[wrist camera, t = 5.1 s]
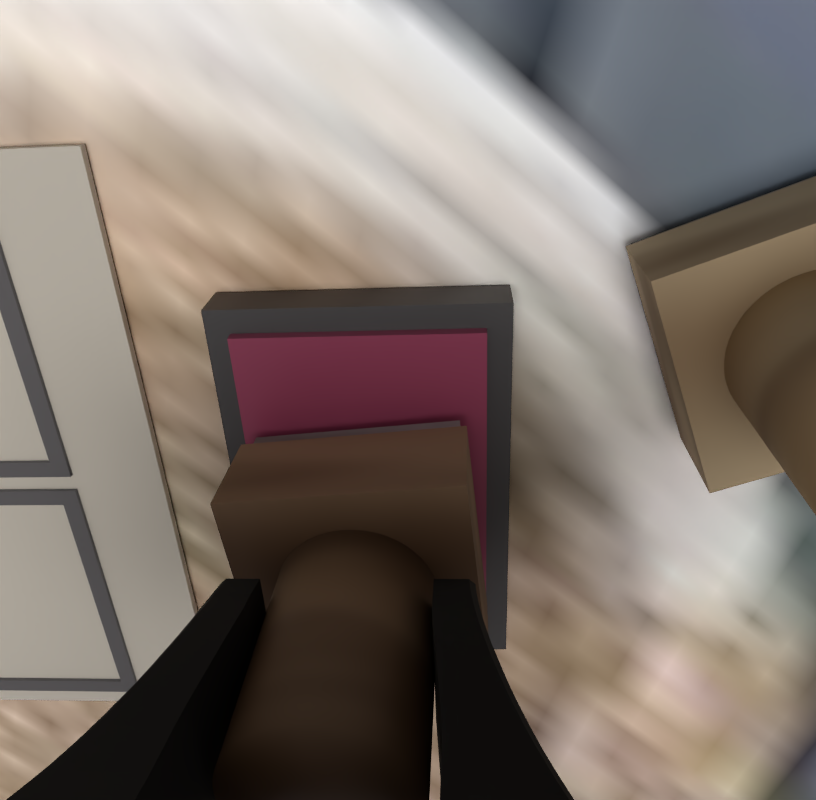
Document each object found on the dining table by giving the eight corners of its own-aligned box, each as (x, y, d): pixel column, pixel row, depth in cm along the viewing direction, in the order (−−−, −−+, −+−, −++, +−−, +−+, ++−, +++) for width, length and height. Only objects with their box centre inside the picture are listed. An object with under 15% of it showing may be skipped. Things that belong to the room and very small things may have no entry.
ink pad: (503, 619, 19) (506, 657, 18) (273, 618, 19) (262, 655, 18) (509, 284, 15) (514, 307, 14) (215, 292, 15) (196, 315, 14)
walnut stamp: (486, 587, 17) (497, 890, 11) (292, 597, 17) (206, 892, 11) (466, 413, 15) (466, 676, 9) (247, 431, 15) (114, 689, 9)
